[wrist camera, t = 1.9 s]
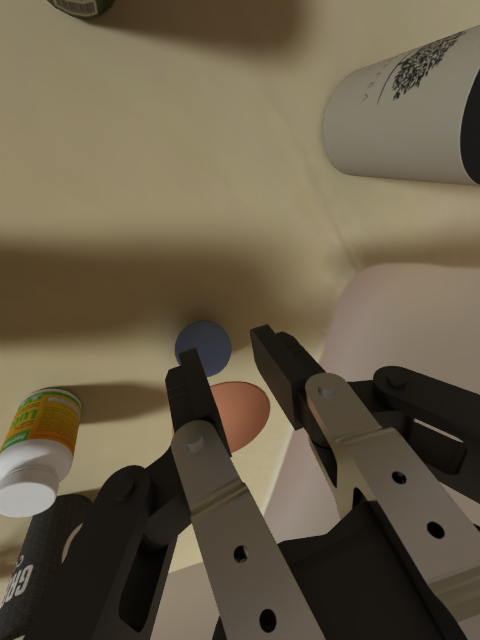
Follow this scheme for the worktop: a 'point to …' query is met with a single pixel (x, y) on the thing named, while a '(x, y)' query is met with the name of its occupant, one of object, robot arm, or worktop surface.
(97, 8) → the beer can
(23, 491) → the supplement bottle
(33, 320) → the worktop surface
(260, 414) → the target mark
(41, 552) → the coffee cup
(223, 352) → the ball
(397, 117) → the travel mug
